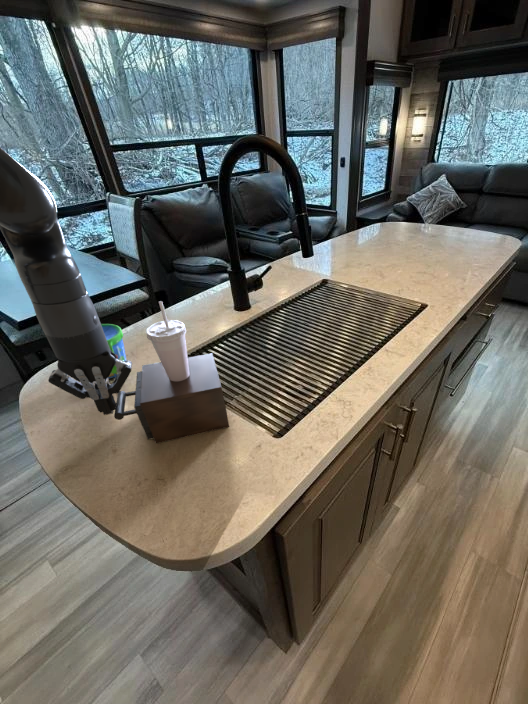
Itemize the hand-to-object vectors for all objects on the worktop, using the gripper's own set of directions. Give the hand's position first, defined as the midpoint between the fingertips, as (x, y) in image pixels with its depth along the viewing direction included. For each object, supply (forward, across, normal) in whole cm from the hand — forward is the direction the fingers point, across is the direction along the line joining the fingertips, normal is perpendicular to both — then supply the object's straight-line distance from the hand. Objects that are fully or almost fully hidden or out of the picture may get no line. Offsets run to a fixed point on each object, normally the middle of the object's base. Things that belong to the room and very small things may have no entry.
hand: (109, 411), depth 61 cm
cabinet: (+4, -14, 0) cm, 15 cm away
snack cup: (+5, +3, -23) cm, 24 cm away
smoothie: (-5, -14, 0) cm, 14 cm away
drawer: (+3, -10, 0) cm, 11 cm away
